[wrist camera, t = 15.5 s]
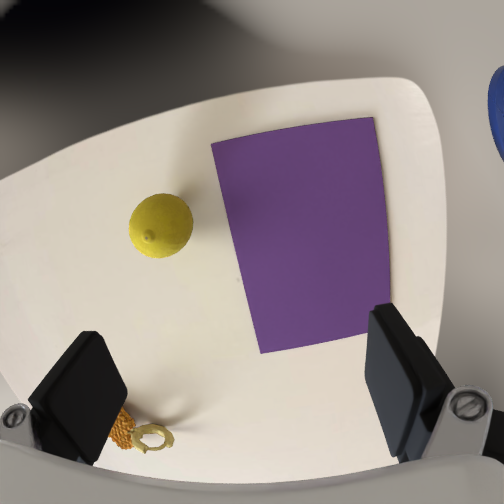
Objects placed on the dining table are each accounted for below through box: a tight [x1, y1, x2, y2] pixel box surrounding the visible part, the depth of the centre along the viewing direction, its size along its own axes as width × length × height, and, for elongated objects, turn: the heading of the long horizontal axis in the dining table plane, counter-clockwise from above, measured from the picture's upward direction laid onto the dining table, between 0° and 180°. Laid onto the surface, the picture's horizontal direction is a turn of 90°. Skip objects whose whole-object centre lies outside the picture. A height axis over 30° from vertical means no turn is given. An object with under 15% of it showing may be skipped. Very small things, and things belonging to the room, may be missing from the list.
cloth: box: [211, 117, 390, 354], centre depth 31 cm, size 24×16×1 cm, turn 12°
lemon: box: [129, 193, 193, 258], centre depth 26 cm, size 6×6×8 cm
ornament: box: [108, 407, 174, 454], centre depth 39 cm, size 7×10×15 cm
